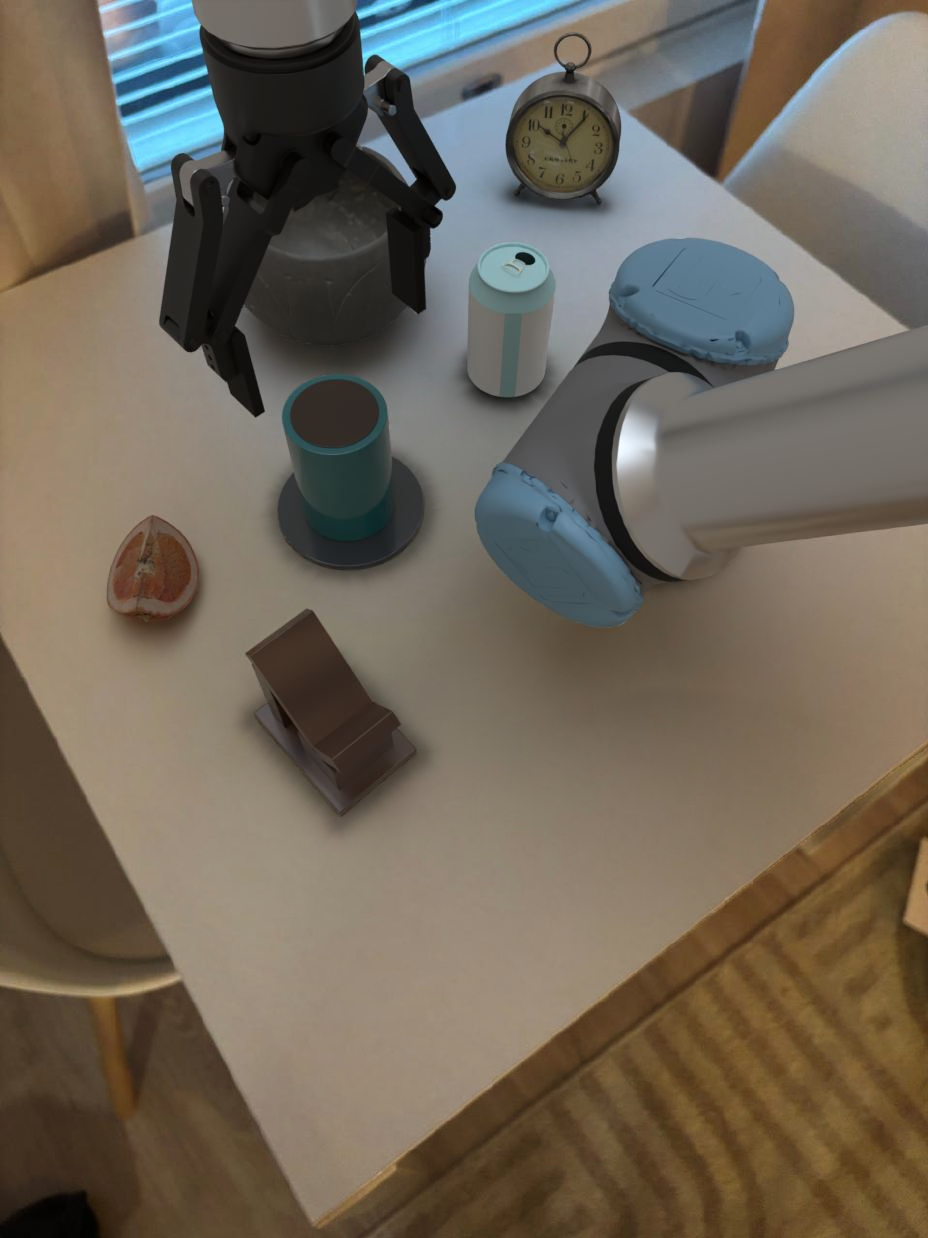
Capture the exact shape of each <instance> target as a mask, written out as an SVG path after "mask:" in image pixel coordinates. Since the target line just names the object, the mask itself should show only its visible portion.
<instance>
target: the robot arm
mask: <svg viewBox="0 0 928 1238" xmlns="http://www.w3.org/2000/svg"><path fill="white" fill-rule="evenodd" d="M191 5H192V8H193V13H194V15H195V18H196V19H197V22H198V23H199V25H200V26H199V33H198V35H199V40H200V46H201V49H202V54H203V58H204V62H205V67H206V70H207V75H208V79H209V84H210V89H211V93H212V97H213V101H214V103H215V106H216V109H217V112H218V114H219V117H220V119H221V122H222V127H223V136H222V137H223V138H222V144H221V148H220V151H219V152H216V153H213V154H211V155H208V156H205V157H202V158H200V159H197V160H195V159H194V158H193V157H191V156H190V155H189V154H188V153H185V152H180V153H177V154H176V155H175V156H174V157H173V158H172V160H171V163H170V171H171V177H172V183H173V188H174V194H175V199H176V201H175V207H174V214H173V220H172V227H171V234H170V241H169V249H168V254H167V255H168V256H167V263H166V270H165V276H164V277H165V278H164V283H163V291H162V298H161V304H160V311H159V318H158V326H159V327H160V328H161V329H162V330H163V331H164V332H165V333H166V334H167V335H168V336H169V337H170V338H171V339H172V340H174V341H175V343H177V344H178V346H180V348H182V350H184V351H185V352H187V353H191V354H192V353H194V352H196V351H198V350H199V349H200V348H201V349H202V352H203V355H204V358H205V361H206V365H207V366H208V367H209V368H210V369H211V370H212V371H213V372H214V373H215V374H217V376H219V378H221V380H223V381H224V382H225V383H226V384H227V387H228V391H229V394H230V395H231V396H232V397H233V398H234V399H235V400H236V401H237V402H238V403H239V404H241V405H242V407H244V408H245V409H246V410H247V412H249V413H250V414H251V415H252V416H253V417H254V418H258V417H260V416H261V415H263V414H264V413H266V410H265V405H264V402H263V398H262V395H261V390H260V387H259V383H258V379H257V376H256V372H255V368H254V363H253V360H252V357H251V354H250V349H249V344H248V341H247V338H246V334H245V333H244V332H243V331H241V330H240V329H239V327H237V326H236V325H237V322H238V320H239V317H240V315H241V312H242V310H243V308H244V306H245V305H244V303H245V300H246V298H247V296H248V293H249V291H250V288H251V286H252V284H253V281H254V279H255V276H256V274H257V272H258V269H259V267H260V264H261V262H262V260H263V257H264V255H265V252H266V250H267V248H268V245H269V243H270V240H271V238H272V237H273V236H276V235H279V234H280V233H281V232H282V230H283V227H284V225H285V223H286V220H287V218H288V215H289V213H290V211H291V210H293V211H294V212H296V211H297V210H299V209H301V208H303V207H305V206H306V205H307V204H308V203H309V202H311V201H312V200H313V199H314V198H315V197H316V196H319V195H323V194H327V193H330V192H331V191H333V190H335V189H337V188H339V181H340V180H341V179H342V178H343V176H344V175H345V173H346V171H347V169H348V170H349V171H351V172H352V173H353V174H355V175H356V176H358V177H359V178H360V179H362V180H363V181H365V182H366V183H368V184H369V185H371V186H372V187H374V188H375V189H376V190H378V191H379V192H381V193H382V194H383V195H385V196H386V197H388V198H389V199H390V200H392V201H393V202H395V203H396V204H398V205H399V206H400V207H401V211H400V210H398V209H397V208H396V207H394V208H392V209H390V210H388V211H387V212H386V222H387V235H388V247H389V260H390V273H391V286H392V294H393V295H395V296H396V297H397V298H398V299H400V300H401V301H402V302H403V303H405V304H406V305H407V307H408V308H409V309H411V310H412V311H413V312H414V313H416V314H417V315H419V314H420V313H422V312H424V311H425V310H427V299H426V294H427V293H426V271H425V270H426V265H425V266H424V259H426V258H429V257H430V253H431V250H432V243H431V239H432V237H431V229H432V230H434V229H437V228H438V227H439V226H440V225H441V223H442V221H443V219H444V213H443V211H442V210H441V209H440V208H439V207H437V206H436V205H437V204H438V203H439V202H440V201H441V200H442V201H445V202H448V201H450V200H451V199H452V198H453V197H454V195H455V193H456V191H457V184H456V182H455V180H454V179H453V177H452V175H451V173H450V171H449V169H448V167H447V166H446V164H445V162H444V160H443V158H442V157H441V155H440V153H439V151H438V149H437V148H436V146H435V144H434V142H433V140H432V139H431V136H430V135H429V133H428V131H427V129H426V128H425V126H424V124H423V122H422V120H421V119H420V117H419V115H418V113H417V111H416V109H415V105H414V99H413V90H412V82H411V78H410V76H409V75H408V74H406V73H405V72H404V71H402V70H401V69H399V68H398V67H396V66H395V65H393V64H391V62H389V61H387V60H385V59H384V58H383V57H381V55H379V54H372V55H370V56H369V57H368V58H367V59H366V61H365V63H364V58H363V48H362V35H361V24H360V18H359V15H358V13H357V12H356V11H357V5H358V0H191ZM369 110H371V111H372V112H374V113H375V114H376V116H377V117H378V119H379V120H380V122H381V123H382V125H383V127H384V129H385V130H386V132H387V133H388V135H389V137H390V138H391V140H392V142H393V143H394V146H396V148H397V150H398V152H399V153H400V155H401V157H402V158H403V160H404V162H405V163H406V165H407V166H408V168H409V170H410V171H411V173H412V175H413V176H414V178H415V180H414V182H413V183H411V184H410V185H409V184H408V185H409V186H408V185H406V184H405V183H404V182H402V181H401V180H400V179H398V178H397V177H396V176H394V175H393V174H392V173H391V172H389V171H388V170H387V169H385V168H384V167H383V166H381V165H380V164H379V163H377V162H376V161H375V160H373V159H372V158H371V157H369V156H368V155H367V154H366V153H364V152H363V151H362V150H360V149H359V148H358V147H356V145H357V144H358V142H359V140H360V137H361V134H362V132H363V128H364V126H365V123H366V121H367V119H368V115H369ZM229 186H231V187H229ZM228 188H230V190H229V189H228ZM228 191H229V192H228ZM254 192H257V193H258V194H259V195H261V196H262V197H263V198H265V199H266V200H268V203H267V205H266V208H265V210H264V209H263V208H262V207H261V206H259V205H258V204H257V203H256V202H255V201H254V198H253V196H254ZM227 194H228V195H227ZM227 205H228V207H229V210H228V214H227V216H226V219H225V221H224V224H223V210H224V207H226V206H227ZM426 260H427V259H426ZM608 302H609V306H608V310H607V313H606V317H605V319H604V321H603V323H602V325H601V327H600V329H599V330H598V333H597V334H596V336H595V337H594V338H593V339H592V342H590V344H589V345H588V347H587V348H586V349H585V350H584V352H583V353H582V355H581V356H580V358H579V359H578V360H577V362H576V363H575V365H573V367H572V368H571V370H569V372H568V373H567V374H566V375H565V377H564V378H563V379H562V380H561V382H560V384H559V385H558V386H557V387H556V389H555V390H554V391H553V393H552V394H551V395H550V397H549V399H548V400H547V401H546V402H545V404H544V405H543V406H542V408H541V409H540V411H539V412H538V413H537V414H536V416H535V417H534V419H533V420H531V422H530V423H529V425H528V426H527V427H526V429H525V430H524V432H523V433H522V435H521V436H520V437H519V439H518V440H517V441H516V443H515V444H514V446H513V447H512V448H511V449H510V451H509V452H508V453H507V455H506V456H505V458H503V460H502V461H501V462H499V463H497V464H496V466H495V467H494V468H493V469H492V471H491V477H490V479H489V480H488V482H487V484H486V485H485V487H484V488H483V490H482V491H481V493H480V494H479V496H478V497H477V500H476V503H475V506H474V521H475V523H476V524H475V525H476V531H477V535H478V538H479V540H480V542H481V545H482V546H483V548H484V549H485V551H486V553H487V555H488V556H489V557H490V558H491V560H492V561H493V562H494V564H495V566H497V568H498V569H499V570H500V572H502V573H503V574H504V575H505V576H506V577H507V578H508V579H509V580H510V581H511V582H512V583H513V584H514V585H515V586H516V587H518V588H519V590H521V591H522V592H523V593H525V595H527V596H528V597H530V598H531V599H533V600H534V601H535V602H537V603H538V604H540V605H542V606H544V607H545V608H546V609H548V610H549V611H551V612H553V613H555V614H557V615H558V616H561V617H562V618H565V619H566V620H569V621H571V622H574V623H577V624H580V625H583V626H587V627H593V628H598V629H599V628H600V629H610V628H616V627H618V626H621V625H624V624H625V623H626V622H627V621H628V620H630V618H631V617H632V616H633V615H634V613H635V612H638V611H640V609H641V608H642V606H643V604H644V596H645V594H646V593H647V592H648V591H649V589H650V588H652V587H654V586H656V585H658V584H667V583H678V582H686V581H697V580H702V579H706V578H709V577H712V576H715V575H717V574H719V573H720V572H722V571H723V570H724V569H726V568H727V567H728V566H729V565H730V564H731V563H733V561H734V560H735V559H736V557H737V556H738V554H739V552H740V551H741V549H743V547H744V548H746V547H752V546H761V545H769V544H777V543H785V542H793V541H802V540H807V539H808V540H810V539H817V538H825V537H833V536H842V535H848V534H849V535H850V534H856V533H866V532H872V531H882V530H890V529H891V530H892V529H898V528H906V527H914V526H922V525H923V526H924V525H928V324H926V325H922V326H918V327H915V328H912V329H908V330H906V331H902V332H899V333H895V334H892V335H888V336H885V337H881V338H878V339H875V340H871V341H868V342H865V343H861V344H858V345H854V346H851V347H848V348H845V349H841V350H837V351H834V352H830V353H827V354H824V355H821V356H817V357H813V358H810V359H808V360H804V361H800V362H798V363H794V364H791V365H787V366H784V367H781V368H780V367H779V368H777V369H776V367H777V364H778V362H779V360H780V359H781V358H782V357H783V355H784V354H785V353H786V352H787V350H788V349H789V345H790V342H789V337H790V334H791V330H792V328H793V324H794V320H795V304H794V301H793V296H792V294H791V291H790V290H789V288H788V286H787V285H786V284H785V283H784V281H783V282H782V281H781V280H780V277H779V275H778V273H777V272H776V271H775V270H774V269H773V268H771V266H770V265H768V264H767V263H765V262H764V261H763V260H761V259H760V258H758V257H757V256H755V255H754V254H751V253H749V252H747V251H745V250H744V249H740V248H738V247H736V246H733V245H731V244H727V243H724V242H722V241H718V240H711V239H706V238H699V237H686V238H665V239H661V240H656V241H653V242H650V243H647V244H644V245H642V246H641V247H639V248H637V249H636V250H634V251H632V252H631V253H630V254H629V255H628V256H627V257H626V258H625V259H624V260H622V262H621V264H620V265H619V267H618V270H617V272H616V275H615V278H614V281H613V282H611V284H610V288H609V290H608Z"/></svg>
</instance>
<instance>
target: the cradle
mask: <svg viewBox="0 0 928 1238" xmlns="http://www.w3.org/2000/svg"><path fill="white" fill-rule="evenodd" d="M244 655H245V656H246V657H247V659H248V660H249V662H250V663H251V667H252V669H253V671H254V674H255V676H256V678H257V681H258V683H259V686H260V688H261V691H262V693H263V695H264V697H265V700H266V703H265V704H264V705H262V706H261V707H260V708H258V709H257V710H256V711H254V712H253V716H254V718H255V719H256V720H257V721H258V722H259V725H261V726H262V728H264V729H265V731H266V732H267V733H268V734H269V735H270V736H271V738H272V739H273V740H274V741H275V742H276V744H277V745H278V746H279V747H280V748H281V749H282V750H283V751H284V753H285V754H286V755H287V756H288V757H289V759H290V760H291V761H292V762H293V763H294V765H295V766H296V767H297V768H298V769H299V771H301V772H302V773H303V775H304V776H305V777H306V778H307V779H308V780H309V782H310V783H311V784H312V786H313V787H314V788H315V789H316V790H317V792H319V793H320V794H321V796H322V797H323V798H324V799H325V801H327V803H328V804H329V805H330V806H331V808H333V810H334V811H335V812H336V813H337V814H338V815H339V816H340V817H342V816H343V815H344V814H345V813H347V812H348V811H349V810H350V809H351V808H352V807H354V806H355V805H356V804H357V803H358V802H360V801H361V800H363V798H365V797H366V796H367V795H368V794H369V793H371V792H372V791H373V790H374V789H375V788H377V787H378V786H379V785H380V784H381V783H383V782H385V780H386V779H387V778H389V777H390V776H391V775H392V774H393V773H395V772H396V771H397V770H398V769H399V768H401V767H402V766H403V765H404V764H405V763H407V762H408V761H409V760H410V759H411V758H413V757H414V756H415V755H416V754H417V748H416V747H415V746H414V744H412V743H411V742H410V740H408V739H407V737H406V736H405V735H404V734H403V733H402V732H401V731H400V730H399V729H398V728H399V727H400V726H401V725H402V723H401V722H400V721H399V719H398V717H397V715H396V714H395V712H394V711H393V710H392V709H389V708H387V707H385V706H383V705H381V704H379V703H377V702H375V701H373V700H372V699H371V697H370V696H369V694H368V692H367V691H366V689H365V687H363V685H362V683H361V682H360V680H359V678H358V677H357V675H356V674H355V672H354V671H353V669H352V668H351V666H350V665H349V663H348V662H347V660H346V659H345V657H344V655H343V654H342V653H341V651H340V650H339V648H338V646H337V645H336V643H335V642H334V641H333V639H332V637H331V636H330V634H329V632H328V631H327V629H326V628H325V627H324V625H323V623H322V622H321V620H320V619H319V617H318V616H317V614H316V613H315V611H314V610H313V609H310V608H305V609H303V611H301V612H300V613H298V614H297V615H295V616H294V617H293V618H291V619H290V620H288V621H287V622H286V623H284V624H283V625H282V626H280V627H279V628H278V629H276V630H275V631H273V632H271V634H269V635H268V636H266V637H265V638H263V639H262V640H261V641H259V643H256V644H255V645H254V646H253V647H251V648H250V649H249V650H247V651H246V652H245V653H244Z"/></svg>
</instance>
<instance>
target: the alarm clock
mask: <svg viewBox="0 0 928 1238" xmlns="http://www.w3.org/2000/svg"><path fill="white" fill-rule="evenodd" d="M569 37H570V38H571V37H577V38H580V39H581V40H582V41H584V43H585V44H586V46H587V56H586V57H585V59H584V61H582V62H581V63H579V64H577V65H576V64H575V63H574V62H572V61H568V62H567V63H564V62H563V61H561V60H560V58H559V56H558V48H559V45H560V44H561V42H563V40H565V39H566V38H569ZM553 55H554V59H555V61H557V63H558V64H559V65H560V66H561V67H562V68H564V70H565V71H556V72H550V73H548V74H545V75H542V76H541V77H539V78H537V79H536V80H534V81H533V82H531V83H530V84H528V86H526V87H525V89H524V90H523V91H522V92H521V94H520V95H518V98H517V100H516V102H515V103H514V105H513V108H512V111H511V114H510V118H509V123H508V127H507V131H506V135H505V145H504V146H505V147H504V148H505V155H506V159H507V163H508V165H509V168H510V169H511V171H512V173H513V175H514V177H515V178H516V179H517V180H518V181H519V183H520V184H519V185H518V187H517V188H516V189H514V190H513V195H514V196H515V197H519V196H520V194H521V192H522V191H524V190H525V189H527V190H528V191H530V192H532V193H533V194H535V195H537V196H539V197H541V198H544V199H549V200H553V201H572V200H577V199H581V198H584V197H586V196H588V195H590V196H591V197H592V198H593V199H594V200H595V204H596V205H597V206H601V205H602V203H603V200H602V198H601V197H600V196H599V193H598V191H597V190H598V189H600V187H602V186H603V185H604V184H605V183H606V182H607V181H608V179H609V178H610V177H611V176H612V173H613V172H614V170H615V168H616V165H617V162H618V160H619V154H620V144H621V137H622V118H621V113H620V109H619V106H618V104H617V102H616V100H615V98H614V97H613V95H612V94H611V93H610V91H609V90H608V89H607V88H606V87H605V86H604V85H603V84H602V83H601V82H600V81H598V80H596V78H593V77H591V76H589V75H587V74H583V73H581V72H578V71H577V72H576V70H577V69H581V68H583V67H584V66H586V64H587V63H588V62H589V60H590V58H591V55H592V44H591V42H590V40H589V39H588V37H586V36H585V35H584V34H583V33H580V32H577V31H571V32H566V33H564V34H562V35H561V36H560V37H559V38H558V39H557V40H556V41H555V42H554V46H553Z"/></svg>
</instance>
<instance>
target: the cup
mask: <svg viewBox="0 0 928 1238" xmlns="http://www.w3.org/2000/svg"><path fill="white" fill-rule="evenodd" d="M281 423H282V427H283V432H284V436H285V441H286V445H287V449H288V453H289V457H290V461H291V462H290V463H291V465H292V470H293V472H294V475H295V479H296V483H297V487H298V492H299V496H300V500H301V504H302V509H303V513H304V516H305V518H306V521H307V522H308V524H309V525H310V526H311V527H312V529H314V530H315V531H316V532H317V533H319V534H320V535H322V536H324V537H326V538H329V539H332V540H336V541H343V542H351V541H358V540H362V539H365V538H368V537H370V536H372V535H374V534H376V533H377V532H379V531H380V530H381V529H383V528H384V527H385V525H386V524H387V523H388V522H389V520H390V519H391V517H392V515H393V512H394V509H395V490H394V479H393V467H392V445H391V444H392V443H391V433H390V423H389V411H388V405H387V401H386V399H385V397H384V396H383V394H382V393H381V391H380V390H379V389H378V387H376V386H374V385H373V384H372V383H371V382H369V381H367V380H366V379H363V378H361V377H358V376H355V375H351V374H343V373H333V374H325V375H320V376H317V377H314V378H311V379H309V380H307V381H305V382H303V383H301V384H299V386H297V387H296V388H295V389H294V390H293V391H292V392H291V393H290V394H289V395H288V397H287V399H286V401H285V403H284V405H283V407H282V411H281Z"/></svg>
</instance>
